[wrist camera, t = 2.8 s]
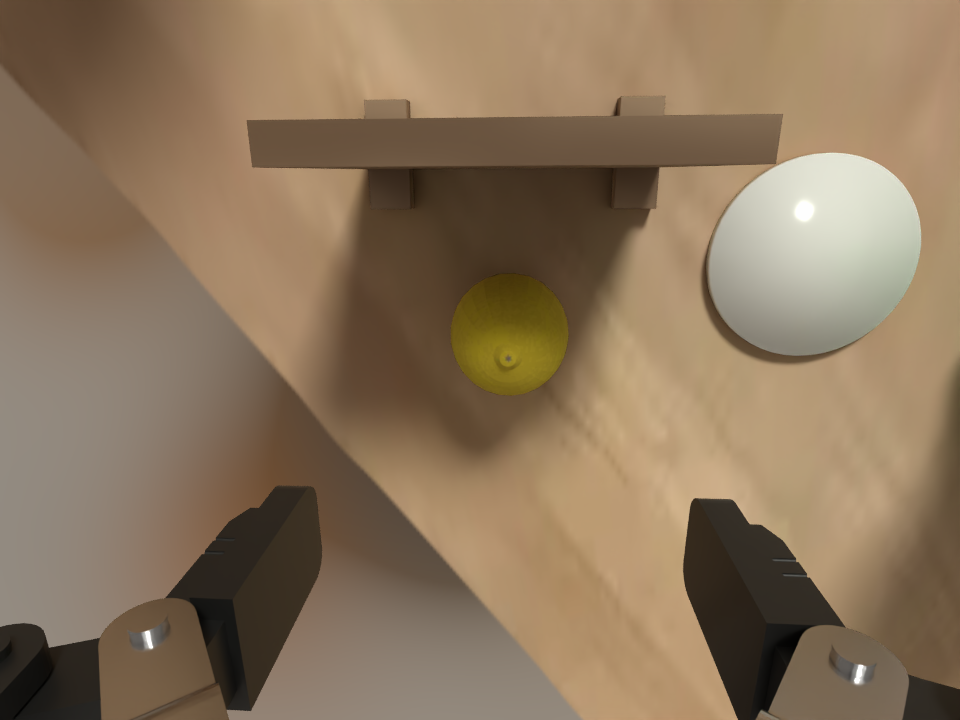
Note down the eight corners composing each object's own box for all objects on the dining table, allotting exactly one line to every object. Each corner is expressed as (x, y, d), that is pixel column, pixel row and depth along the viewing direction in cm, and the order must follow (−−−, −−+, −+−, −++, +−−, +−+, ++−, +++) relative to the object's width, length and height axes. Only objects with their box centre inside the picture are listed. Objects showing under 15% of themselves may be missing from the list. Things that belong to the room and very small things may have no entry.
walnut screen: (369, 102, 28) (236, 40, 15) (660, 98, 27) (795, 29, 14) (375, 208, 30) (260, 237, 16) (651, 207, 29) (765, 237, 16)
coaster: (718, 154, 28) (722, 153, 27) (934, 152, 27) (943, 151, 27) (695, 351, 31) (699, 354, 30) (889, 353, 30) (896, 356, 30)
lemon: (569, 353, 32) (584, 410, 24) (469, 368, 32) (454, 429, 25) (553, 253, 30) (565, 280, 22) (449, 271, 31) (427, 305, 23)
